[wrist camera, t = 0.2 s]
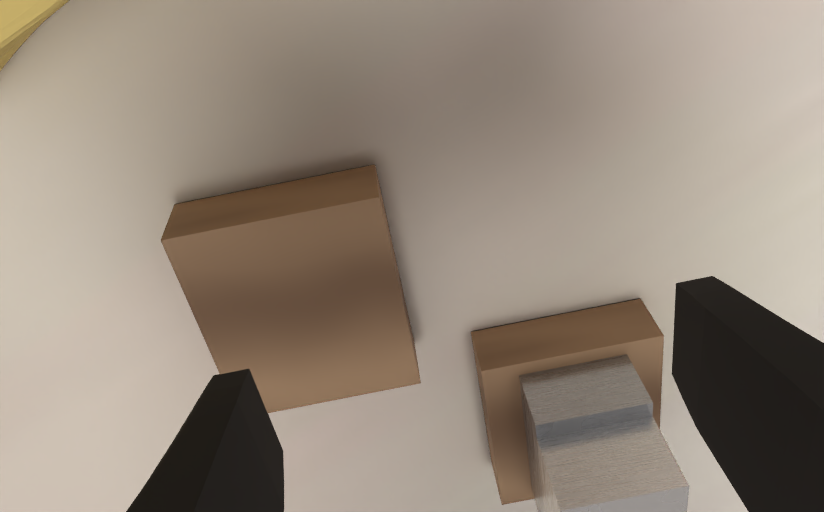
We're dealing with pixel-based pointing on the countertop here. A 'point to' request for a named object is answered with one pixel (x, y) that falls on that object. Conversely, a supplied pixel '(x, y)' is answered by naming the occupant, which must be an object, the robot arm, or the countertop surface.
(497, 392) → the stand
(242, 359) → the stand
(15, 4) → the cheese
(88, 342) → the countertop surface
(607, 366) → the block
